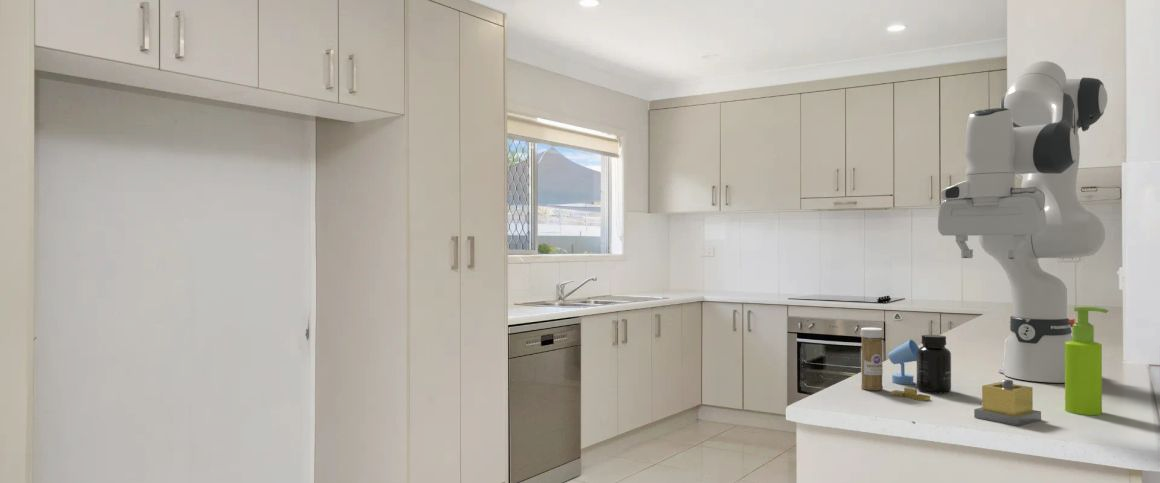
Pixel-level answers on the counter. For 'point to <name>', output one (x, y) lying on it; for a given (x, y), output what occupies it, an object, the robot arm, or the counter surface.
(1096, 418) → the counter surface
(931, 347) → the supplement bottle
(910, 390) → the tan barbell toy
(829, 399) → the counter surface
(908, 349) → the spotlight
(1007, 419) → the grey peg stand
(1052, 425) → the counter surface
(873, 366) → the sprinkles bottle
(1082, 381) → the soap dispenser
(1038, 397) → the counter surface
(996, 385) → the end link
